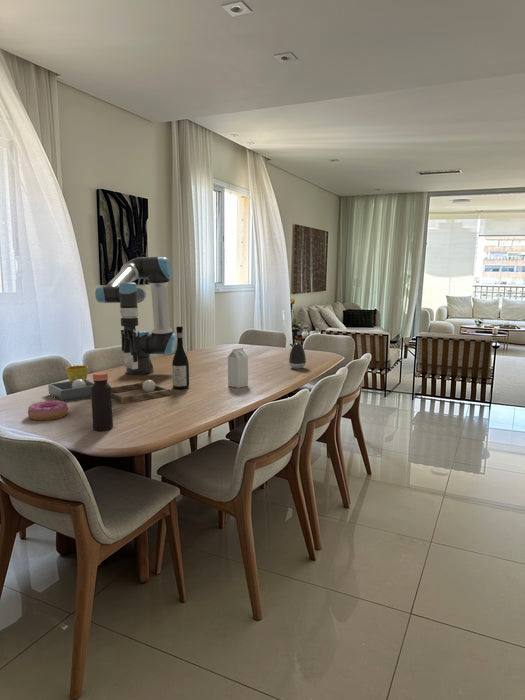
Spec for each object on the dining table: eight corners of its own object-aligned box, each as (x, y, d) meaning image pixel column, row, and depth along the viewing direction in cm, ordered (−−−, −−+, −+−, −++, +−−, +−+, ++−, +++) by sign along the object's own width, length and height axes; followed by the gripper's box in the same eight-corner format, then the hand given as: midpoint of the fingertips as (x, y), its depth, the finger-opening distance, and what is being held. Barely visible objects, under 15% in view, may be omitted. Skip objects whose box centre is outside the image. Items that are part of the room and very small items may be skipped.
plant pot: (62, 387, 232) (61, 367, 231) (79, 383, 242) (78, 364, 240) (77, 389, 228) (76, 369, 226) (93, 385, 237) (92, 366, 235)
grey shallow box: (85, 389, 229) (85, 379, 228) (99, 395, 216) (99, 384, 215) (48, 394, 218) (48, 384, 217) (61, 401, 205) (60, 390, 204)
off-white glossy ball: (84, 390, 223) (81, 378, 222) (89, 389, 218) (85, 377, 218) (72, 394, 219) (68, 381, 219) (76, 393, 214) (72, 380, 214)
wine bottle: (185, 389, 227) (184, 327, 223) (170, 389, 229) (168, 327, 224) (191, 386, 235) (190, 326, 231) (176, 385, 237) (174, 325, 232)
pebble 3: (151, 390, 227) (151, 377, 226) (158, 392, 222) (157, 379, 221) (140, 392, 223) (139, 379, 222) (146, 394, 218) (145, 381, 217)
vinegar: (96, 425, 172) (93, 371, 169) (115, 425, 172) (112, 371, 169) (90, 431, 165) (87, 375, 162) (110, 431, 165) (107, 375, 162)
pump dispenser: (294, 365, 289) (294, 341, 287) (309, 367, 283) (309, 342, 281) (285, 368, 281) (285, 343, 279) (300, 370, 275) (300, 344, 273)
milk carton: (228, 386, 235) (227, 348, 232) (238, 383, 240) (237, 346, 237) (237, 388, 230) (237, 349, 227) (248, 386, 235) (248, 348, 232)
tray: (147, 386, 234) (147, 381, 233) (170, 394, 217) (169, 389, 217) (100, 394, 218) (100, 389, 218) (121, 403, 202) (121, 398, 202)
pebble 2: (134, 366, 220) (133, 354, 219) (140, 368, 216) (140, 355, 215) (122, 368, 216) (121, 355, 215) (128, 370, 212) (127, 357, 211)
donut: (71, 418, 182) (71, 405, 181) (31, 424, 174) (30, 411, 173) (64, 409, 194) (63, 397, 193) (26, 414, 186) (25, 402, 185)
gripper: (112, 316, 217) (114, 366, 220) (131, 319, 203) (133, 371, 206) (127, 315, 222) (129, 364, 225) (147, 318, 208) (149, 369, 211)
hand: (131, 367), depth 216 cm, fingers closed on pebble 2, 6 cm apart
